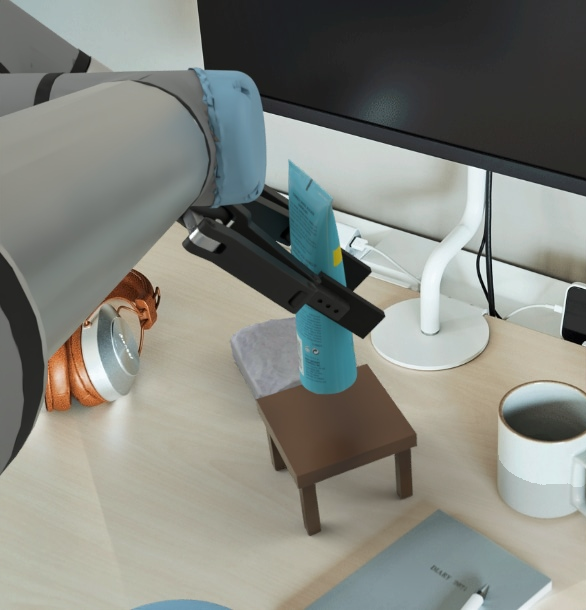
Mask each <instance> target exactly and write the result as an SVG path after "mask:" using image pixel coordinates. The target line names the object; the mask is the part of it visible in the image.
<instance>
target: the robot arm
mask: <svg viewBox="0 0 586 610" xmlns="http://www.w3.org/2000/svg"><path fill="white" fill-rule="evenodd" d="M261 98H262V97H261V95H260V92H259V88H258V87H257V85H256V83H255V81H254V79H252V77H251V76H249V75H248V74H247V73H245V72H243V71H239V70H224V69H223V70H222V69H221V70H219V69H203V68H201V67H196V66H195V67H188V68H187V69H179V70H177V69H176V70H128V71H125V70H124V71H114V70H112V69H111V68H109V66H106V65H105V64H103V63H102V62H100V61H99V60H98V59H96V58H95V57H93V56H91V55H89V54H87V53H85V52H84V51H83V50H81V49H80V48H77V47H75V46H74V45H72V44H71V43H70V42H69V41H68V40H66V39H64V38H63V37H62V36H60V35H59V34H57V33H56V32H55V31H54V30H52V29H51V28H50V27H48V26H46V25H45V24H43V22H41V21H40V20H39V19H36V17H34V16H33V15H31V14H30V13H28V12H27V11H26V10H24V9H23V8H21V7H20V6H18V5H17V4H16V3H14V2H13V1H12V0H0V476H1V475H2V474H3V473H4V472H5V471H6V470H7V468H8V467H9V465H11V463H12V462H13V461H14V460H15V459H16V457H17V456H18V454H20V451H21V450H22V449H23V448H24V446H25V444H26V442H27V441H28V439H29V437H30V435H31V434H32V432H33V430H34V428H35V427H36V424H37V421H38V419H39V417H40V414H41V411H42V408H43V405H44V403H45V396H46V391H47V386H48V379H49V360H51V358H52V357H53V356H54V355H55V354H56V353H57V352H58V351H59V349H60V348H62V346H63V345H64V344H65V343H66V342H67V341H68V340H69V339H70V337H71V336H72V335H73V334H74V333H75V332H76V331H77V330H78V329H79V328H80V326H82V325H83V323H85V321H86V320H87V319H88V318H89V317H90V316H91V315H92V314H93V312H94V311H96V309H97V308H98V307H99V306H100V305H101V304H102V303H103V302H104V300H105V299H107V297H108V296H109V295H110V294H111V293H112V292H113V291H114V290H115V288H116V287H118V285H119V284H120V283H121V282H122V281H123V280H124V279H125V278H126V277H127V275H128V274H129V273H130V272H131V271H132V270H133V269H134V268H135V267H136V265H138V263H139V262H140V261H141V260H142V259H143V258H144V257H145V256H146V255H147V254H148V252H149V251H150V250H151V249H153V247H154V246H155V245H156V244H157V243H158V242H159V241H160V240H161V238H162V237H163V236H164V235H165V234H167V232H168V231H169V229H170V228H171V227H172V226H173V225H174V224H175V223H178V224H180V225H181V226H182V227H183V228H184V229H186V230H187V233H188V235H187V237H186V238H185V239H183V241H182V242H181V246H182V248H183V249H184V250H185V251H187V253H189V254H191V255H193V256H196V257H199V258H201V259H202V260H205V261H208V262H210V263H211V264H213V265H215V266H216V267H219V268H220V269H221V270H223V271H225V272H226V273H228V274H229V275H231V276H232V277H234V278H236V279H237V280H239V281H240V282H242V283H243V284H245V285H246V286H248V287H249V288H251V289H253V290H255V291H256V293H259V294H261V295H262V296H264V297H265V298H267V299H268V300H270V301H271V302H273V303H275V304H276V305H277V306H279V307H281V308H282V309H284V310H286V311H287V312H288V313H290V314H293V315H295V314H296V313H297V312H298V311H299V310H300V309H301V308H302V307H303V306H304V305H305V304H306V305H308V306H309V307H311V308H313V309H314V310H316V311H318V312H319V313H321V314H322V315H324V316H326V317H327V318H329V319H331V320H332V321H334V322H336V323H337V324H339V325H340V326H342V327H344V328H345V329H347V330H349V331H350V332H352V334H354V335H355V336H357V337H358V338H360V339H362V340H364V339H365V338H366V337H368V335H370V333H371V332H372V331H373V330H374V329H375V328H376V327H377V326H378V325H379V324H380V323H381V322H382V321H384V319H385V318H386V316H387V315H386V313H385V311H384V310H383V309H381V308H379V307H378V306H376V305H375V304H373V303H372V302H371V301H368V300H367V299H366V298H364V297H362V296H361V295H360V294H358V293H357V292H355V290H356V289H357V288H359V286H360V285H361V284H362V283H363V282H364V281H365V280H366V279H367V278H368V277H369V276H370V275H371V274H372V273H373V270H372V268H371V266H369V265H368V264H366V263H365V262H364V261H362V260H360V259H359V258H357V256H354V255H353V254H352V253H350V252H349V251H347V250H345V249H344V248H343V247H341V253H342V260H343V267H344V274H345V281H346V287H345V286H344V285H342V284H341V283H339V282H338V281H336V280H335V279H333V278H332V277H330V276H328V275H327V274H325V273H324V272H322V271H321V272H320V273H319V274H318V275H317V274H315V273H314V272H313V271H312V270H311V269H309V268H308V267H307V266H306V265H304V264H303V263H302V262H301V261H300V260H298V259H297V258H296V257H295V256H293V255H292V254H291V249H290V250H289V251H288V249H286V248H285V247H284V246H286V247H291V240H290V221H289V198H287V197H286V196H285V195H283V194H281V193H280V192H278V191H277V190H275V189H273V188H272V187H271V186H269V185H267V184H266V176H267V133H266V124H265V116H264V115H265V114H264V109H263V104H262V99H261ZM231 221H232V223H231ZM230 223H231V224H230ZM229 224H230V225H229ZM228 225H229V226H228ZM282 245H283V246H282ZM130 610H233V609H232V608H230V607H227V606H224V605H222V604H218V603H214V602H211V601H207V600H200V599H199V600H198V599H187V598H183V599H182V598H181V599H166V600H160V601H155V602H151V603H147V604H143V605H140V606H137V607H134V608H131V609H130Z"/></svg>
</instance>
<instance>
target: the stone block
mask: <svg viewBox="0 0 586 610" xmlns="http://www.w3.org/2000/svg"><path fill="white" fill-rule="evenodd" d="M229 343H230V349H231V352H232V354H231V355H232V358H233V360H234V362H235V364H236V366H237V368H238V370H239V371H240V373H241V376H242V377H243V379H244V380H245V383H246V384H247V386H248V389H249V390H250V392H251V394H252V395H253V397H254V399H255V400H256V399H258V398H261V397H264V396H268V395H271V394H274V393H277V392H280V391H283V390H286V389H289V388H292V387H296V386H299V385H302V383H301V380H300V371H299V358H298V345H297V331H296V317H295V316H292V317H287V318H286V317H285V318H284V317H283V318H278V319H277V318H275V319H274V318H273V319H272V318H271V319H269V320H267V321H263V322H256V323H253V324H249V325H247V326H245V327H242V328H240V329H238V330H237V331H236V332H235V333H234V334H231V337H230V338H229Z"/></svg>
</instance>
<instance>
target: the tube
mask: <svg viewBox="0 0 586 610" xmlns="http://www.w3.org/2000/svg"><path fill="white" fill-rule="evenodd" d="M287 161H288V176H287V178H288V180H287V181H288V189H287V190H288V193H287V194H288V199H289V221H290V240H291V246H290V250H291V251H290V253H291V254H292V255H293V256H295V257H296V258H297V259H298V260H300V261H301V262H302V263H303V264H304V265H306V266H307V267H308V268H309V269H311V270H312V271H313V272H314V273H315V274H317V275H318V274H319V273H320V272H321V271H322V272H324V273H325V274H327V275H328V276H330V277H332V278H333V279H335V280H336V281H338V282H339V283H341V284H342V285H344V286H345V287H346V281H345V274H344V267H343V260H342V253H341V248H342V247H341V242H340V236H339V232H338V226H337V221H336V217H335V213H334V210H333V201H334V197H333V196H332V195H331V194H329V192H328V191H327V190H326V189H324V188H323V187H322V186H321V184H319V183H318V182H316V180H314V179H313V178H312V177H311V175H309V174H308V173H307V172H305V170H303V169H302V168H300V166H298V165H296V163H294V161H292V160H291V159H290V158H288V160H287ZM294 315H295V316H294V317H296V331H297V345H298V358H299V371H300V380H301V383H302V385H303V386H304V387H305V388H306V389H308V390H309V391H311V392H313V393H316V394H334V393H339V392H342V391H344V390H346V389H347V388H349V387H350V386H352V385H353V383H354V382H355V380H356V378H357V367H358V366H357V359H356V352H355V351H356V349H355V344H354V343H355V342H354V336H353V333H352V332H350V331H349V330H347V329H345V328H344V327H342V326H340V325H339V324H337V323H336V322H334V321H332V320H331V319H329V318H327V317H326V316H324V315H322V314H321V313H319V312H318V311H316V310H314V309H313V308H311V307H309V306H308V305H306V304H305V305H304V306H303V307H302V308H301V309H300V310H299V311H298V312H297V313H296V314H294Z"/></svg>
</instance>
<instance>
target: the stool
mask: <svg viewBox="0 0 586 610" xmlns="http://www.w3.org/2000/svg"><path fill="white" fill-rule="evenodd" d="M356 367H357V378H356V380H355V382H354V383H353V385H352V386H350V387H349V388H347V389H346V390H344V391H342V392H339V393H334V394H316V393H313V392H311V391H309V390H308V389H306V388H305V387H304V386H303V385H299V386H296V387H292V388H289V389H286V390H283V391H280V392H277V393H274V394H271V395H268V396H264V397H261V398H258V399H255V405H256V410H257V413H258V414H259V416H260V418H261V421H262V422H263V423H264V427H265V430H266V436H267V443H268V449H269V456H270V462H271V465H272V466H273V468H274V470H275V471H279V470H282V469H284V468H287V470H288V472H289V474H290V475H291V478H292V480H293V481H294V484H295V486H296V488H297V489H298V493H299V500H300V508H301V513H302V521H303V527H304V530H305V531H306V533H307V535H308V537H310V536H312V535H315V534H318V533H320V532H322V526H321V518H320V510H319V503H318V495H317V487H316V486H317V485H316V484H318V483H320V482H322V481H325V480H328V479H331V478H333V477H336V476H338V475H342V474H344V473H348V472H349V471H350V472H351V471H353V470H355V469H358V468H361V467H364V466H366V465H369V464H372V463H374V462H377V461H380V460H382V459H385V458H389V457H391V456H394V472H395V485H396V486H395V488H396V493H397V495H398V496H399V498H400V499H401V500H404V499H407V498H410V497H412V496H413V495H414V493H413V492H414V488H413V487H414V486H413V466H412V463H413V461H412V448H415V447H417V446H418V437H417V436H418V434H417V432H416V431H415V429H414V427H413V426H412V425H411V423H410V422H409V421H408V419H407V418H406V416H405V415H404V414H403V413H402V411H401V410H400V408H399V406H398V405H397V404H396V403H395V400H393V398H392V396H391V395H390V393H388V391H387V389H386V388H385V386H384V385H383V384H382V383H381V381H380V380H379V378H378V377H377V376H376V374H375V373H374V371H373V370H372V368H371V367H370V366H369V364H368V363H365V364H364V363H363V364H361V365H358V366H356Z"/></svg>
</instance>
